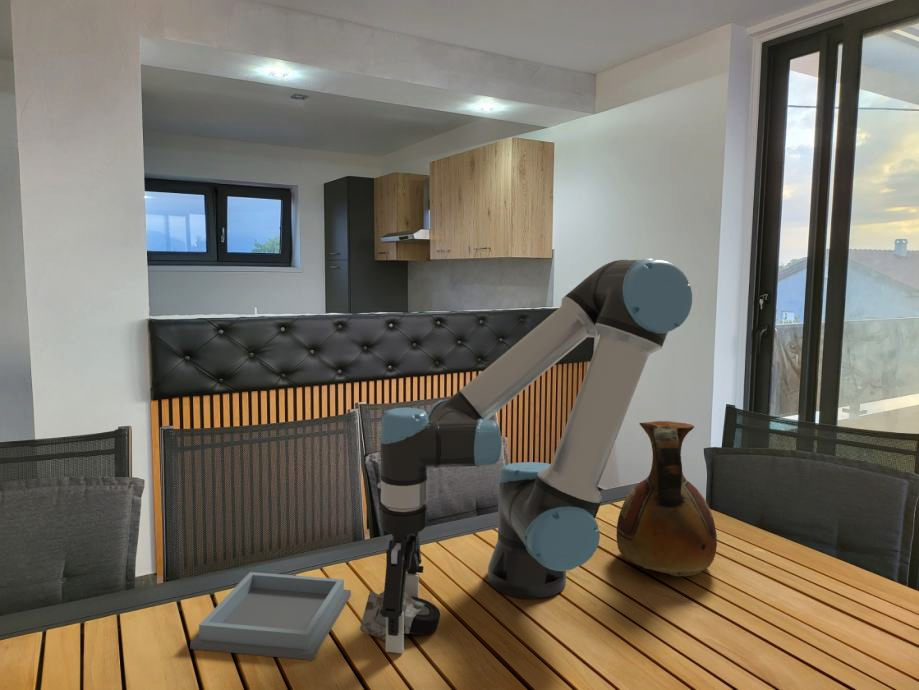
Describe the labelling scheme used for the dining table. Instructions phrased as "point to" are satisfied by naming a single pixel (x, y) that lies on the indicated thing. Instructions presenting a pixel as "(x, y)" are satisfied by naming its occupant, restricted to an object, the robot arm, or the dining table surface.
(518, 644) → the dining table surface
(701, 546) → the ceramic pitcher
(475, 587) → the dining table surface
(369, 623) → the caster wheel
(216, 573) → the dining table surface
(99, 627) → the dining table surface
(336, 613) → the tray
